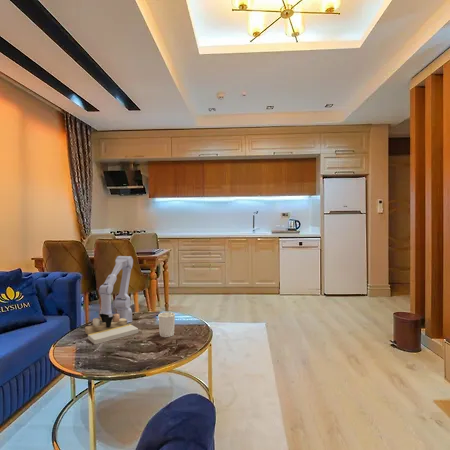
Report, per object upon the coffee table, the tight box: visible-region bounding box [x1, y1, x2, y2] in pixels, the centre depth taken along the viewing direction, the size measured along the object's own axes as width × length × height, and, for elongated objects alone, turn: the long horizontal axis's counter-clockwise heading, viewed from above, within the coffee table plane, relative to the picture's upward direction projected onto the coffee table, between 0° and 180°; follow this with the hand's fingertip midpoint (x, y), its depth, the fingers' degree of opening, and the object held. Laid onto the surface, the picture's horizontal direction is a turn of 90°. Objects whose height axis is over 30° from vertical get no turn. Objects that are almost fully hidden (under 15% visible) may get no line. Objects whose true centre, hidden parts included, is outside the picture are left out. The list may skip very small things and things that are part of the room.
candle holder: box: [157, 311, 176, 338], centre depth 188 cm, size 10×10×12 cm
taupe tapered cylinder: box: [92, 317, 101, 327], centre depth 191 cm, size 4×4×4 cm
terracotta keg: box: [112, 313, 120, 322], centre depth 199 cm, size 4×4×4 cm
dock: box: [87, 323, 139, 345], centre depth 187 cm, size 26×11×3 cm, turn 131°
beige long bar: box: [84, 318, 128, 335], centre depth 195 cm, size 24×5×4 cm, turn 131°
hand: (106, 326), depth 195 cm, fingers closed on beige long bar, 5 cm apart
